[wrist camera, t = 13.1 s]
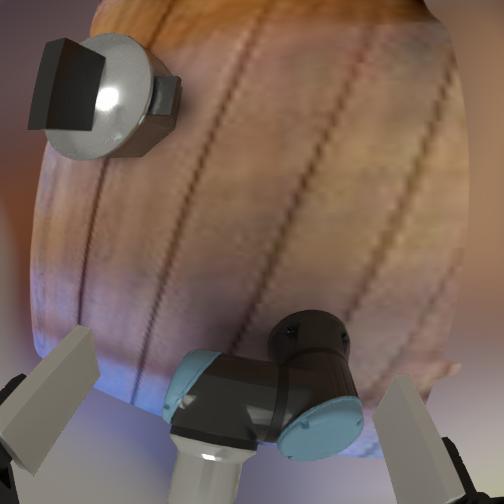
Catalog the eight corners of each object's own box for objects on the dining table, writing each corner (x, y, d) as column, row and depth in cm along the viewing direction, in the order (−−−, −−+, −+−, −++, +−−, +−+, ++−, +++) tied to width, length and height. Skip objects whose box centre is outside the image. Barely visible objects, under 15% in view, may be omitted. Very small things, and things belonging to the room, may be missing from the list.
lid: (146, 164, 34) (95, 169, 23) (46, 157, 34) (-10, 164, 23) (171, 35, 28) (134, -5, 17) (67, 47, 28) (17, 28, 17)
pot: (188, 161, 44) (160, 163, 32) (73, 152, 44) (29, 155, 32) (206, 61, 38) (186, 32, 27) (88, 65, 39) (49, 50, 27)
